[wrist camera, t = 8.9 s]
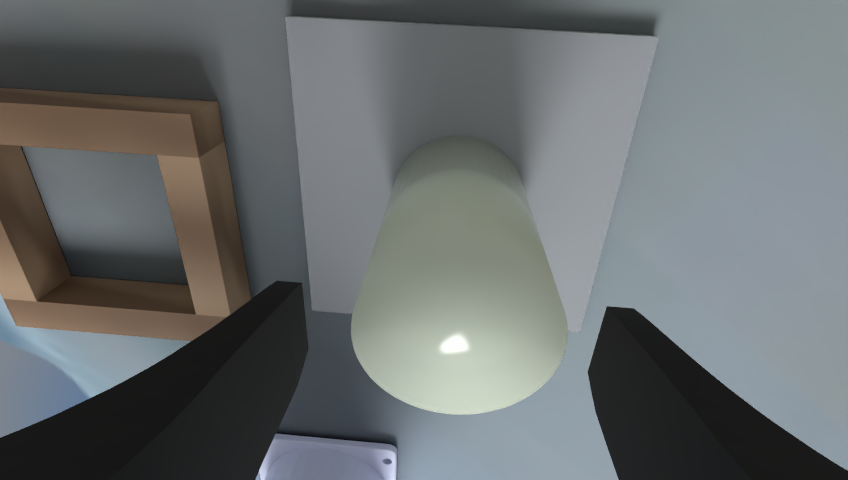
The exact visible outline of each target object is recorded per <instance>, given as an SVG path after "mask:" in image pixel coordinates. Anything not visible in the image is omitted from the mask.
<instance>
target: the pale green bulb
mask: <svg viewBox="0 0 848 480" xmlns="http://www.w3.org/2000/svg"><path fill="white" fill-rule="evenodd" d="M351 339H352V343H353V348H354V351H355V353H356V356H357V358H358V360H359V362H360V364H361V365H362V367H363V369H364V370H365V371H366V373H367V374H368V375H369V376H370V378H371V379H372V380H373V381H374V382H375V383H376V384H377V385H378V386H380V387H381V388H382V389H384V390H385V391H386V392H387V393H389V394H391V395H392V396H394V397H395V398H397V399H399V400H401V401H403V402H405V403H407V404H410V405H412V406H415V407H418V408H421V409H424V410H428V411H432V412H438V413H444V414H457V415H461V414H478V413H485V412H490V411H495V410H498V409H501V408H505V407H508V406H510V405H512V404H515V403H517V402H519V401H521V400H523V399H525V398H526V397H528V396H530V395H531V394H533V393H534V392H535V391H537V390H538V389H539V388H540V387H542V386H543V385H544V384H545V383H546V382H547V381H548V380H549V379H550V377H551V376H552V375H553V374H554V373H555V371H556V369H557V368H558V366H559V364H560V363H561V361H562V358H563V356H564V353H565V350H566V345H567V340H568V325H567V318H566V314H565V311H564V308H563V305H562V302H561V299H560V296H559V293H558V289H557V286H556V283H555V280H554V277H553V274H552V271H551V268H550V265H549V262H548V259H547V256H546V253H545V250H544V247H543V244H542V241H541V238H540V235H539V232H538V229H537V226H536V223H535V220H534V217H533V214H532V211H531V208H530V205H529V201H528V198H527V195H526V192H525V189H524V186H523V183H522V180H521V177H520V175H519V172H518V170H517V168H516V167H515V165H514V164H513V162H512V161H511V159H510V158H509V157H508V156H507V155H506V154H505V153H504V152H503V151H501V150H500V149H499V148H497V147H496V146H494V145H493V144H491V143H489V142H487V141H484V140H481V139H478V138H475V137H469V136H448V137H443V138H439V139H436V140H433V141H430V142H428V143H426V144H424V145H423V146H421V147H420V148H418V149H417V150H415V151H414V152H413V153H412V154H411V155H410V156H409V157H408V158H407V159H406V161H405V162H404V163H403V165H402V166H401V168H400V169H399V172H398V174H397V176H396V179H395V182H394V185H393V188H392V191H391V194H390V198H389V201H388V204H387V207H386V210H385V213H384V216H383V219H382V223H381V226H380V229H379V232H378V235H377V238H376V241H375V244H374V248H373V251H372V254H371V257H370V260H369V263H368V266H367V270H366V273H365V276H364V279H363V282H362V285H361V288H360V291H359V295H358V298H357V301H356V304H355V307H354V311H353V314H352V320H351Z"/></svg>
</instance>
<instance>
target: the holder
mask: <svg viewBox="0 0 848 480" xmlns="http://www.w3.org/2000/svg"><path fill="white" fill-rule="evenodd" d="M21 146H30V147H45V148H60V149H75V150H89V151H104V152H119V153H134V154H148V155H157V158H158V162H159V166H160V170H161V174H162V178H163V182H164V186H165V190H166V194H167V199H168V203H169V207H170V211H171V215H172V219H173V223H174V227H175V231H176V235H177V239H178V243H179V247H180V252H181V256H182V260H183V264H184V268H185V272H186V276H187V280H188V284H189V285H179V284H166V283H154V282H141V281H129V280H116V279H103V278H91V277H78V276H71V274H70V271H69V269H68V266H67V264H66V261H65V259H64V256H63V253H62V251H61V248H60V246H59V243H58V241H57V238H56V235H55V233H54V230H53V228H52V225H51V223H50V220H49V218H48V215H47V212H46V210H45V207H44V205H43V202H42V200H41V197H40V195H39V192H38V189H37V187H36V184H35V182H34V179H33V177H32V174H31V171H30V169H29V166H28V164H27V161H26V159H25V156H24V154H23V151H22V148H21ZM0 293H1V295H2V297H3V299H4V301H5V303H6V306H7V308H8V310H9V312H10V314H11V316H12V318H13V320H14V322H15V324H16V326H21V327H33V328H45V329H57V330H69V331H81V332H92V333H104V334H116V335H128V336H140V337H151V338H163V339H175V340H187V341H193V340H194V339H196V338H197V337H199V336H200V335H202V334H203V333H205V332H206V331H208V330H209V329H211V328H212V327H214V326H215V325H216V324H218V323H219V322H221V321H222V320H223V319H225V318H226V317H228V316H229V315H230V314H232V313H233V312H235V311H236V310H237V309H239V308H240V307H241V306H243V305H244V304H246V303H247V302H248V301H250V300H251V294H250V288H249V282H248V276H247V270H246V264H245V258H244V253H243V247H242V241H241V235H240V229H239V223H238V217H237V211H236V205H235V199H234V193H233V187H232V181H231V176H230V170H229V164H228V158H227V152H226V146H225V140H224V134H223V128H222V122H221V116H220V110H219V104H218V101H203V100H187V99H171V98H155V97H139V96H123V95H107V94H91V93H75V92H59V91H43V90H27V89H11V88H0Z"/></svg>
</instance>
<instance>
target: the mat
mask: <svg viewBox="0 0 848 480" xmlns="http://www.w3.org/2000/svg"><path fill="white" fill-rule="evenodd" d="M285 22H286V33H287V44H288V55H289V66H290V77H291V87H292V98H293V109H294V120H295V131H296V142H297V153H298V164H299V175H300V186H301V197H302V207H303V218H304V229H305V240H306V251H307V262H308V273H309V284H310V295H311V306H312V311H321V312H333V313H346V314H353V311H354V307H355V304H356V301H357V298H358V295H359V291H360V288H361V285H362V282H363V279H364V276H365V273H366V270H367V266H368V263H369V260H370V257H371V254H372V251H373V248H374V244H375V241H376V238H377V235H378V232H379V229H380V226H381V223H382V219H383V216H384V213H385V210H386V207H387V204H388V201H389V198H390V194H391V191H392V188H393V185H394V182H395V179H396V176H397V174H398V172H399V169H400V168H401V166H402V165H403V163H404V162H405V161H406V159H407V158H408V157H409V156H410V155H411V154H412V153H413V152H414V151H415V150H417V149H418V148H420V147H421V146H423V145H424V144H426V143H428V142H430V141H433V140H436V139H439V138H443V137H448V136H469V137H475V138H478V139H481V140H484V141H487V142H489V143H491V144H493V145H494V146H496V147H497V148H499V149H500V150H501V151H503V152H504V153H505V154H506V155H507V156H508V157H509V158H510V159H511V161H512V162H513V164H514V165H515V167H516V168H517V170H518V172H519V175H520V177H521V180H522V183H523V186H524V189H525V192H526V195H527V198H528V201H529V205H530V208H531V211H532V214H533V217H534V220H535V223H536V226H537V229H538V232H539V235H540V238H541V241H542V244H543V247H544V250H545V253H546V256H547V259H548V262H549V265H550V268H551V271H552V274H553V277H554V280H555V283H556V286H557V289H558V293H559V296H560V299H561V302H562V305H563V308H564V311H565V314H566V318H567V325H568V332H580V331H581V327H582V323H583V319H584V316H585V312H586V308H587V304H588V301H589V297H590V293H591V290H592V286H593V282H594V278H595V275H596V271H597V267H598V263H599V260H600V256H601V252H602V249H603V245H604V241H605V237H606V234H607V230H608V226H609V223H610V219H611V215H612V211H613V208H614V204H615V200H616V196H617V193H618V189H619V185H620V182H621V178H622V174H623V170H624V167H625V163H626V159H627V155H628V152H629V148H630V144H631V141H632V137H633V133H634V129H635V126H636V122H637V118H638V114H639V111H640V107H641V103H642V100H643V96H644V92H645V88H646V85H647V81H648V77H649V74H650V70H651V66H652V62H653V59H654V55H655V51H656V47H657V44H658V40H659V37H657V36H653V35H635V34H616V33H598V32H579V31H561V30H543V29H524V28H506V27H487V26H469V25H451V24H432V23H414V22H395V21H377V20H358V19H340V18H322V17H303V16H286V17H285Z"/></svg>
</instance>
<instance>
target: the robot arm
mask: <svg viewBox="0 0 848 480" xmlns="http://www.w3.org/2000/svg"><path fill="white" fill-rule="evenodd" d="M307 351H308V340H307V330H306V320H305V310H304V300H303V290H302V283H297V282H285V281H276V282H275V283H273V284H272V285H270V286H269V287H267V288H266V289H264V290H263V291H262V292H260V293H259V294H258V295H256V296H255V297H254V298H252V299H251V300H250V301H248V302H247V303H246V304H244V305H243V306H241V307H240V308H239V309H237V310H236V311H235V312H233V313H232V314H230V315H229V316H228V317H226V318H225V319H223V320H222V321H221V322H219V323H218V324H216V325H215V326H214V327H212V328H211V329H209V330H208V331H206V332H205V333H203V334H202V335H200V336H199V337H197V338H196V339H194V340H193V341H191V342H190V343H188V344H186V345H185V346H183V347H182V348H180V349H179V350H177V351H176V352H174V353H173V354H171V355H170V356H168V357H166V358H165V359H163V360H161V361H160V362H158V363H156V364H154V365H153V366H151V367H149V368H148V369H146V370H144V371H142V372H140V373H139V374H137V375H135V376H133V377H131V378H129V379H128V380H126V381H124V382H122V383H120V384H118V385H116V386H114V387H113V388H111V389H109V390H107V391H104V392H102V393H100V394H98V395H96V396H94V397H92V398H90V399H88V400H86V401H84V402H82V403H79V404H77V405H75V406H73V407H71V408H69V409H67V410H65V411H63V412H61V413H58V414H56V415H54V416H52V417H50V418H47V419H45V420H43V421H40V422H38V423H36V424H33V425H31V426H29V427H26V428H24V429H21V430H19V431H16V432H14V433H11V434H9V435H6V436H4V437H1V438H0V480H255V479H256V476H257V474H258V472H259V473H260V478H261V480H396V476H397V449H396V448H395V446H393V445H390V444H383V443H372V442H361V441H350V440H339V439H329V438H318V437H307V436H296V435H285V434H276V432H277V430H278V428H279V425H280V423H281V421H282V419H283V417H284V414H285V412H286V410H287V408H288V405H289V403H290V401H291V399H292V396H293V394H294V392H295V389H296V387H297V384H298V381H299V378H300V375H301V372H302V369H303V365H304V362H305V358H306V355H307ZM588 375H589V381H590V386H591V391H592V396H593V401H594V406H595V410H596V414H597V417H598V420H599V423H600V426H601V429H602V432H603V435H604V438H605V441H606V444H607V447H608V450H609V453H610V456H611V459H612V461H613V464H614V467H615V470H616V473H617V476H618V479H619V480H848V471H847V470H845V469H844V468H842V467H840V466H839V465H837V464H835V463H834V462H832V461H831V460H829V459H827V458H826V457H824V456H823V455H821V454H820V453H818V452H817V451H815V450H813V449H812V448H810V447H809V446H807V445H806V444H805V443H803V442H802V441H800V440H799V439H797V438H796V437H794V436H793V435H791V434H790V433H788V432H787V431H785V430H784V429H783V428H781V427H780V426H778V425H777V424H775V423H774V422H772V421H771V420H770V419H768V418H767V417H765V416H764V415H763V414H761V413H760V412H759V411H757V410H756V409H755V408H753V407H752V406H751V405H749V404H748V403H747V402H745V401H744V400H743V399H742V398H740V397H739V396H738V395H736V394H735V393H734V392H733V391H731V390H730V389H729V388H727V387H726V386H725V385H724V384H722V383H721V382H720V381H719V380H717V379H716V378H715V377H714V376H712V375H711V374H710V373H709V372H708V371H706V370H705V369H704V368H703V367H702V366H700V365H699V364H698V363H697V362H696V361H695V360H693V359H692V358H691V357H690V356H689V355H688V354H686V353H685V352H684V351H683V350H682V349H681V348H679V347H678V346H677V345H676V344H675V343H674V342H673V341H671V340H670V339H669V338H668V337H667V336H666V335H665V334H663V333H662V332H661V331H660V330H659V329H658V328H657V327H655V326H654V325H653V324H652V323H651V322H650V321H648V320H647V319H646V318H645V317H644V316H642V315H641V314H640V313H639V312H637V311H636V310H635V309H633V308H620V307H607V308H606V311H605V315H604V318H603V322H602V325H601V329H600V332H599V335H598V339H597V342H596V346H595V349H594V353H593V356H592V359H591V363H590V366H589V370H588Z"/></svg>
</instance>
